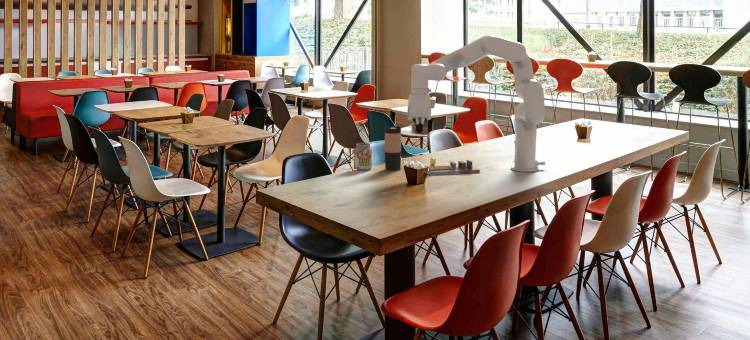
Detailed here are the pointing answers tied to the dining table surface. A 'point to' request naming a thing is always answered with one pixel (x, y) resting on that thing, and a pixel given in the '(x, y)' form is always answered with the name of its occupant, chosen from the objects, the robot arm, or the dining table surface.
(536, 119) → the robot arm
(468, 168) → the jamb keeper
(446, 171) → the door plate
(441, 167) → the bolt
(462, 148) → the dining table surface
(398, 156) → the travel mug
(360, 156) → the glass jar
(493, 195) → the dining table surface
